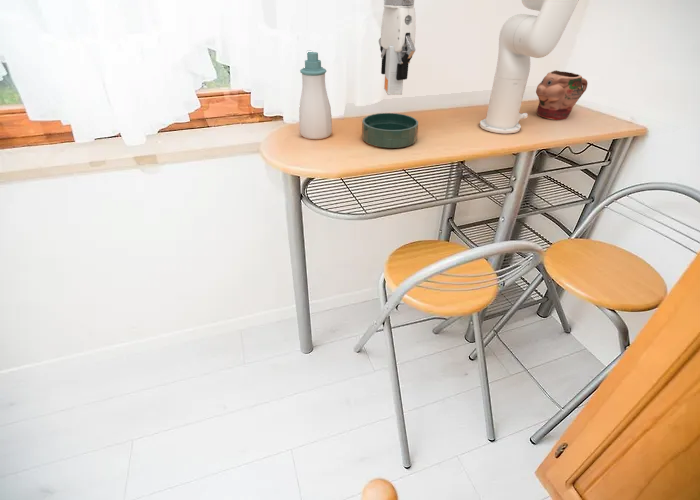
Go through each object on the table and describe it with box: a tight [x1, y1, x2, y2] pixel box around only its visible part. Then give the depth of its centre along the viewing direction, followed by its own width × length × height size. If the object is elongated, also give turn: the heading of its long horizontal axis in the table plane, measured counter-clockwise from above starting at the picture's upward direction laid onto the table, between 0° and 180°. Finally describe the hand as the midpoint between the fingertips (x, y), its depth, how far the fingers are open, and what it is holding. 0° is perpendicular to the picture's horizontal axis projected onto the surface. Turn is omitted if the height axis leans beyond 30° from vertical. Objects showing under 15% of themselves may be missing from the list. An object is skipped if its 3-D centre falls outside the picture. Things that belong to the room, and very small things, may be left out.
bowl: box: [361, 112, 419, 149], centre depth 118 cm, size 16×16×6 cm
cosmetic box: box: [383, 46, 405, 96], centre depth 108 cm, size 6×4×12 cm
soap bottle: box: [298, 51, 333, 140], centre depth 115 cm, size 10×10×23 cm
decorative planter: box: [535, 70, 589, 121], centre depth 136 cm, size 20×12×14 cm, turn 114°
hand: (393, 76), depth 109 cm, fingers closed on cosmetic box, 7 cm apart
